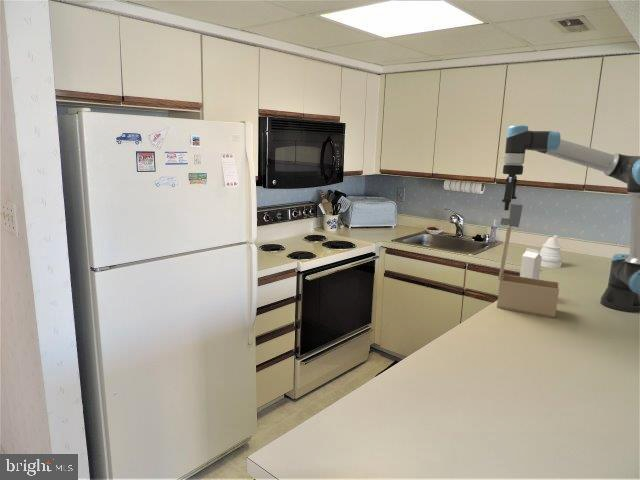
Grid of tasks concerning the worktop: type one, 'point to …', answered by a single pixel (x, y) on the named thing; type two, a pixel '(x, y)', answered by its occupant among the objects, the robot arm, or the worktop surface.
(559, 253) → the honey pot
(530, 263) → the milk
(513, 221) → the flap
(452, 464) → the worktop surface
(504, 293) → the carton
